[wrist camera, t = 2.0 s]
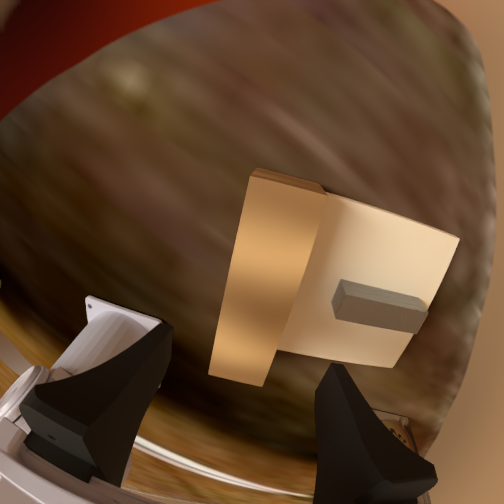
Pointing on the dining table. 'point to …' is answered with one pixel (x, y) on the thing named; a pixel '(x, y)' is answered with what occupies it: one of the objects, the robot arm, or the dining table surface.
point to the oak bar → (265, 272)
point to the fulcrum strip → (378, 307)
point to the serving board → (363, 279)
